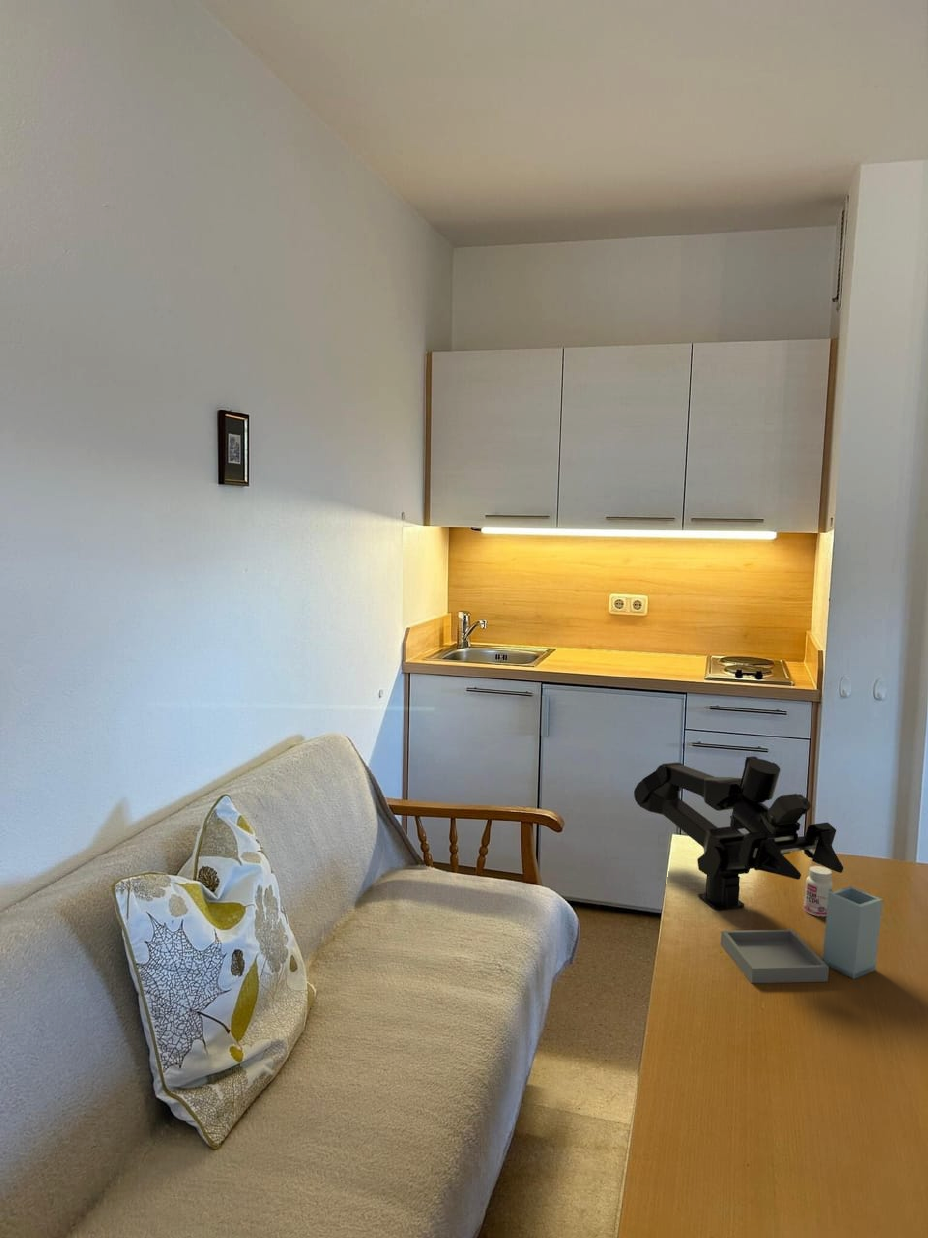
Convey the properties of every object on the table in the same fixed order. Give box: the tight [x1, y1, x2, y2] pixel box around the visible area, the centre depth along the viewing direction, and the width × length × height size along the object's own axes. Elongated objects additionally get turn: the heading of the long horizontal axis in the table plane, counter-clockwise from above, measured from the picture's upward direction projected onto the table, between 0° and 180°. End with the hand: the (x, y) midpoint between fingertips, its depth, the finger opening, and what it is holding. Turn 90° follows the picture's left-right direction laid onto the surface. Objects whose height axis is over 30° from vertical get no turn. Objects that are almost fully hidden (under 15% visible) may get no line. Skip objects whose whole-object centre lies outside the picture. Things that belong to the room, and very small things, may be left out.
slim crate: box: [821, 885, 883, 980], centre depth 152 cm, size 6×6×12 cm
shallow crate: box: [720, 929, 830, 984], centre depth 153 cm, size 13×13×2 cm
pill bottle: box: [803, 865, 834, 918], centre depth 173 cm, size 5×5×8 cm
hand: (821, 873), depth 152 cm, fingers open, 9 cm apart
